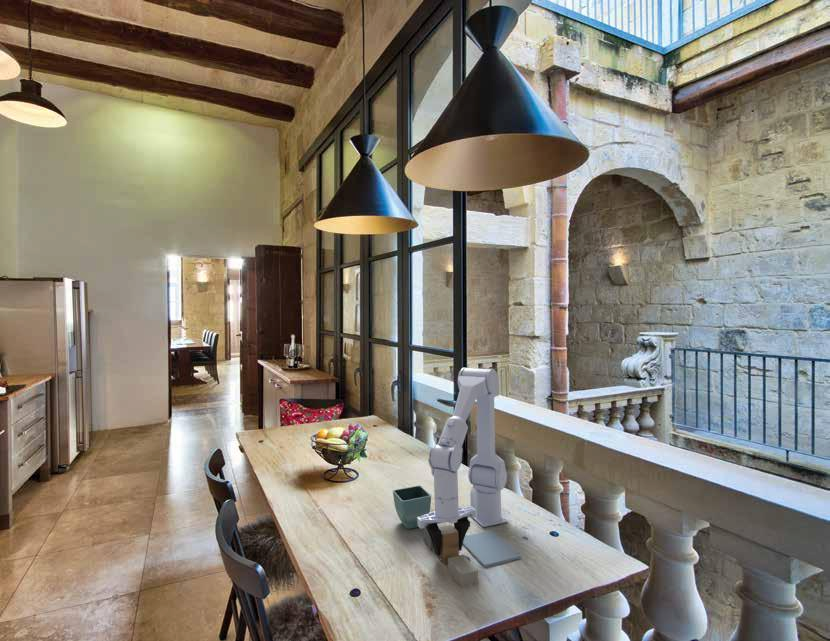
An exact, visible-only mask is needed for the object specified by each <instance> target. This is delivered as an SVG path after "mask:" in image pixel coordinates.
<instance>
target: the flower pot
mask: <svg viewBox="0 0 830 641" xmlns="http://www.w3.org/2000/svg"><path fill="white" fill-rule="evenodd" d="M392 495H393V504H394V508H395V511H396V514H397V516H398V518H399V520H400V521H401V523H402V525H404V527H405V528H406V530H407V529H408V530H411V529H415V528H420V527H419V526H418V521H417V517H421V516H424V515H426V514H429V513H431V504H432V495H431V493H430V492H428V491H427V490H426V489H425V488H424V487H423V486H422V485H414V486H410V487H403V488H398V489H393V490H392Z"/></svg>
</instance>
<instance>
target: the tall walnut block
mask: <svg viewBox="0 0 830 641" xmlns="http://www.w3.org/2000/svg"><path fill="white" fill-rule="evenodd" d="M439 529H440V530H441V536H440V555H439V556H437V557H438V559H439V558H440V559H441V560H440V559H439V560H440V561H441V563H442V562H443V563H444V564H443V565H447V564H446V563H448V558H451V557H456V556H460V551H459V536H458V531H457V530H456V529H455V528H454V525H453V524H446V526H442V527H439Z"/></svg>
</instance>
